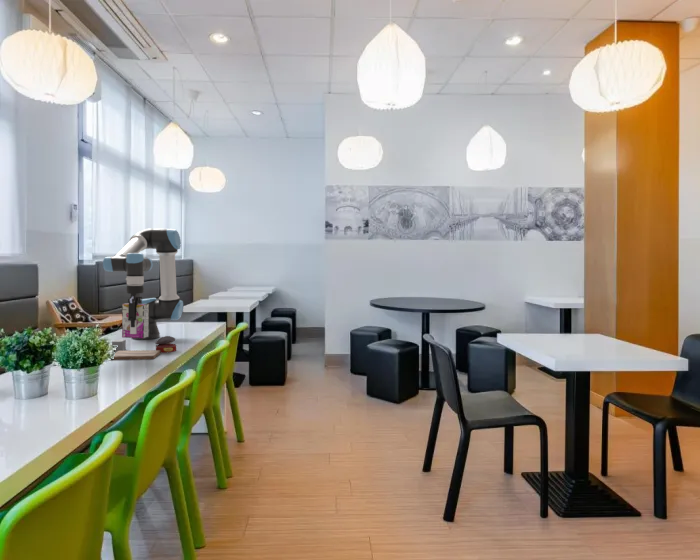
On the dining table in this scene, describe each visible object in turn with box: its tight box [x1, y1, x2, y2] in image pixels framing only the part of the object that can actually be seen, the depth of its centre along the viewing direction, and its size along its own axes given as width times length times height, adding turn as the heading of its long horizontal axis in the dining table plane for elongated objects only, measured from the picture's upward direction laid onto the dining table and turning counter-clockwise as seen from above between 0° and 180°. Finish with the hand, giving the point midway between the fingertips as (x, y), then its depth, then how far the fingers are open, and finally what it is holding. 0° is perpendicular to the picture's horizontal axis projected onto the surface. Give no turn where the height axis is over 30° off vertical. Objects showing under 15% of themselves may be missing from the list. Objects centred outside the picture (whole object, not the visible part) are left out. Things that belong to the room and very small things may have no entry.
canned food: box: [154, 335, 177, 354], centre depth 243 cm, size 11×10×10 cm
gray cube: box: [111, 339, 127, 352], centre depth 243 cm, size 5×5×5 cm
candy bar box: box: [121, 303, 149, 339], centre depth 228 cm, size 11×5×16 cm, turn 85°
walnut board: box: [112, 349, 162, 361], centre depth 229 cm, size 14×20×2 cm
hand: (135, 332), depth 228 cm, fingers closed on candy bar box, 6 cm apart
